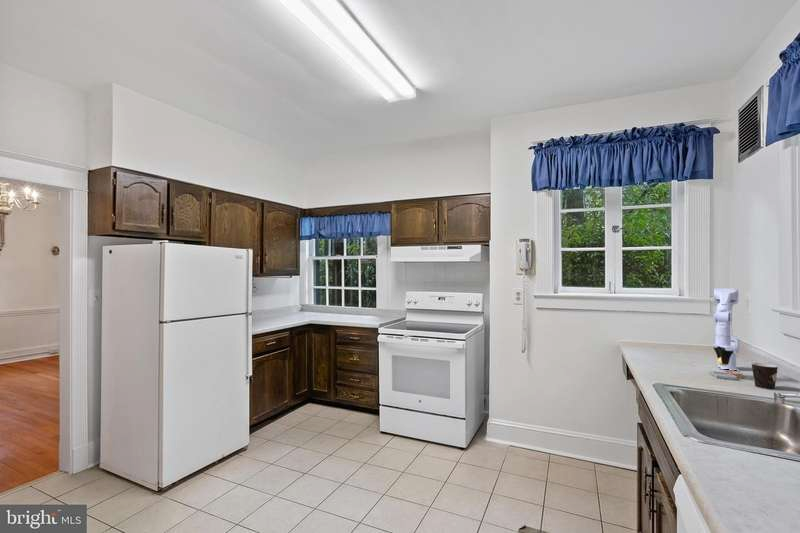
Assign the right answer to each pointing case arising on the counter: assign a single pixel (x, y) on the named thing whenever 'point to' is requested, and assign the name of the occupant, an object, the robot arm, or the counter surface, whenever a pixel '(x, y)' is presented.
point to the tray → (724, 375)
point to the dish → (734, 373)
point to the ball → (721, 362)
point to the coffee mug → (764, 375)
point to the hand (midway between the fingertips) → (723, 363)
